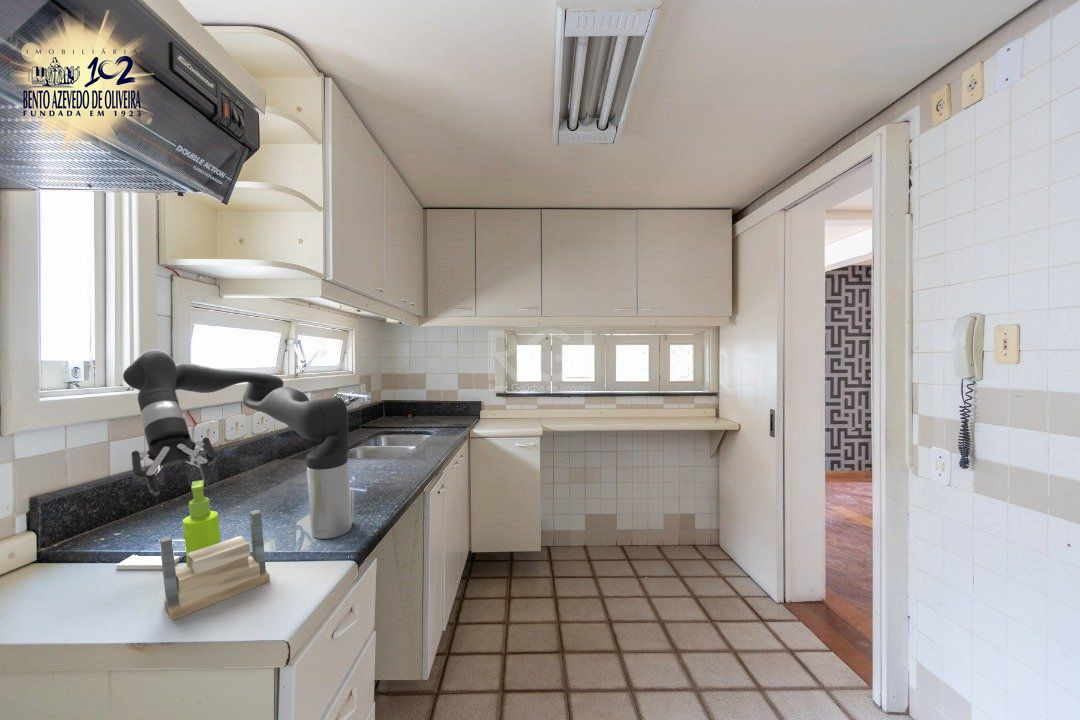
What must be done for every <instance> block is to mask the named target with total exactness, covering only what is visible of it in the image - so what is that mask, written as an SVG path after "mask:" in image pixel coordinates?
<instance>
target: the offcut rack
mask: <svg viewBox="0 0 1080 720" xmlns="http://www.w3.org/2000/svg"><path fill="white" fill-rule="evenodd" d="M248 512H249V524H250V536H251V546H252V548H251V549H250V542H249V541H247V540H246V538H244V536H243V535H239V536H236V537H232V538H230V539H227V540H224V541H221V542H220V543H217V544H214V545H211V546H208V547H205V548H202V549H199V550H196V551H193V552H190V553H188V563H189V567H184V568H181V569H178V570H176V564H175V561H174V552H173V542H172V540H173V539H172V537H171V535H167V536H164V537H161V538H158V540H159V541H160V550H161V560H162V569H161V570H162V575H163V577H162V578H163V585H164V594H165V595H164V596H165V598H164V599H163V603H164V608H165V610H166V612H167V613H169V614H168V616H169V617H170V619H171V621H174V620H177V619H179V618H182V617H184V616H187V615H189V614H191V613H195V612H197V611H200V610H201V608H202V609H204V608H206V606H207V607H209V606H211V604H212V605H214V604H217V603H220V602H221V601H224V600H227V599H229V598H230V597H233V596H235V595H239V594H240V593H243V592H246V591H248V590H251V589H254V588H256V587H258V586H261V585H263V584H265V583H269V582H270V581H271V578H270V573H269V572H268V571H267V567H266V558H265V557H266V556H265V555H266V554H265V544H264V533H263V532H264V531H263V521H262V512H261V511H260V510H259V509H255V510H252V511H248ZM250 550H252V556H251V551H250ZM196 610H197V611H196Z"/></svg>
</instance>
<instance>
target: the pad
mask: <svg viewBox="0 0 1080 720" xmlns="http://www.w3.org/2000/svg"><path fill="white" fill-rule="evenodd" d="M172 541H185V540H184V539H172ZM179 558H180V556H174V561H175V565H176V564H178V562H180V561H181V560H179ZM115 566H116V567H115V568H116V570H163V569H162V560H161V556H138V555H134V554H132V555H131V556H128V557H127V558H125V559H124V560H122V561H120V562H119V563H117V564H116V565H115Z"/></svg>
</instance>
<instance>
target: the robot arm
mask: <svg viewBox="0 0 1080 720" xmlns="http://www.w3.org/2000/svg"><path fill="white" fill-rule="evenodd" d="M122 377H123V378H122V379H123V380H124V382H125V383H126V385H128V387H131V388H133V389H135V390H139V392H138V393H137V403H138V407H139V411H140V413H141V423H142V428H143V432H144V434H145V435H144V436H145V439H146V442H147V448H148V450H147V451H141V452H140V451H139V450H133V451H132V452H131V459H130V460H131V466H132V473H133V474H132V475H133V480H134V481H135V482H140V481H146V482H147V486H148V487H147V488H148V491H149V493H150V494H154V496H158V495H160V491H161V490H160V487H159V481H158V478H157V474H159V473H160V471H161V469H162V468H163V467H165V468H170V467H172V466H176V465H184V464H185V463H187V464H189V465H191V466H196V467H197V468H199V473H200V475H201V478H202V479H201V480H204V484H207V483H209V480H211V476H212V473H211V470H210V466H211V465H214V464H215V463H216V459H217V455H216V452H215V450H214V447H213V445H212V443H211V441H210V438H208V437H204V438H202V440H200V441H193V440H192V437H191V435H190V431H189V429H188V428H189V427H188V425H187V420H186V416H185V415H184V412H183V410H182V408H181V406H180V403H179V400H178V399H179V398H178V396H177V393H176V391H177V390H178V391H179V390H180V391H188V392H194V393H200V394H202V393H203V394H210V393H215V392H218V391H221V390H223V389H226V388H229V387H232V386H235V385H238V384H241V383H247V384H246V387H245V389H244V393H243V396H242V403H243V405H244V406H246V407H247V408H249V409H251V410H254V411H256V412H259V413H262V414H266V415H267V416H269V417H271V418H273V419H275V420H276V421H278V422H280V423H284V424H285V425H287V426H288V427H290V428H291V429H292V430H293V431H295V432H296V433H297V434H298V435H299V436H301V437H302V438H304V439H306V440H317V439H322V438H326V439H325V440H324V441H323V442H322V443H321V444H320V445H319V446H317V447H316V448H314V449H313V450H311V451H309V452H308V453H307V455H306V458H305V459H306V461H305V462H306V475H307V476H306V477H307V489H308V490H307V491H308V501H309V502H308V503H309V504H308V505H309V516H310V519H309V520H310V530H311V532H310V533H311V536H312V537H313V538H315V539H322V540H325V539H334V538H337V537H340V536H343V535H345V534H347V533H349V532H350V531H351V530H352V529H353V528H352V527H353V525H352V508H351V507H352V505H351V491H350V473H349V460H348V459H349V457H348V456H349V447H350V446H349V412H348V408H347V405H346V403H345V401H344V399H342V398H341V397H339V396H332V397H325V398H320V399H312V400H310V399H309V398H308V396H307V395H306V394H305V393H303V392H302V391H301V390H298V389H295V388H293V387H288V386H284V380H283V379H282V378H280V377H278V376H275V375H272V374H269V373H263V372H257V371H256V372H255V371H247V370H239V369H238V370H237V369H225V368H216V367H210V366H205V365H199V364H195V363H191V362H180V363H177V364H176V361H175V360H174V358H173V357H172V356H171V355H170V354H169V353H168V352H166V351H165V350H162V349H158V348H157V349H156V348H152V349H151V348H150V349H149V350H146V351H144V352H142V354H140V355H139V356H138V357H137V358H136V359H135V360H134V361H133V362H132V363H131V364H129V365H128V366H127V368H125V370H124V371H123V374H122ZM196 449H199V450H200V451H203V452H204V455H205V457H206V458H205V457H203V456H201V455H200V454H199V452H197V451H195V450H196ZM146 458H148V459H150V460H151V461H152V463H151V465H150V467H149V468H148V469H147V471H143V470H142V463H144V462H145V459H146Z"/></svg>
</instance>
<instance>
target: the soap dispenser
mask: <svg viewBox="0 0 1080 720" xmlns="http://www.w3.org/2000/svg"><path fill="white" fill-rule="evenodd" d="M204 484H205V483H204V480H203V479H201V480H196V481H195V480H194V481H192V482H191V492H192V496H193V498H192V499H191V500H190V501H188V510H189V511H188V512H189V515H188V516H186V517H184V518H183V519H182V527H183V538H184V539H183V540H185V550H186V557H185V559H186V566H187V567H189V563H188V553H190V552H193V551H196V550H199V549H202V548H205V547H208V546H211V545H214V544H217V543H220V542H222V541H221V531H220V520H219V519H220V518H219V512H218V511H215V510H211V505H210V504H211V503H210V497H207V496H205V495H204ZM187 567H186V568H187Z"/></svg>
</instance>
